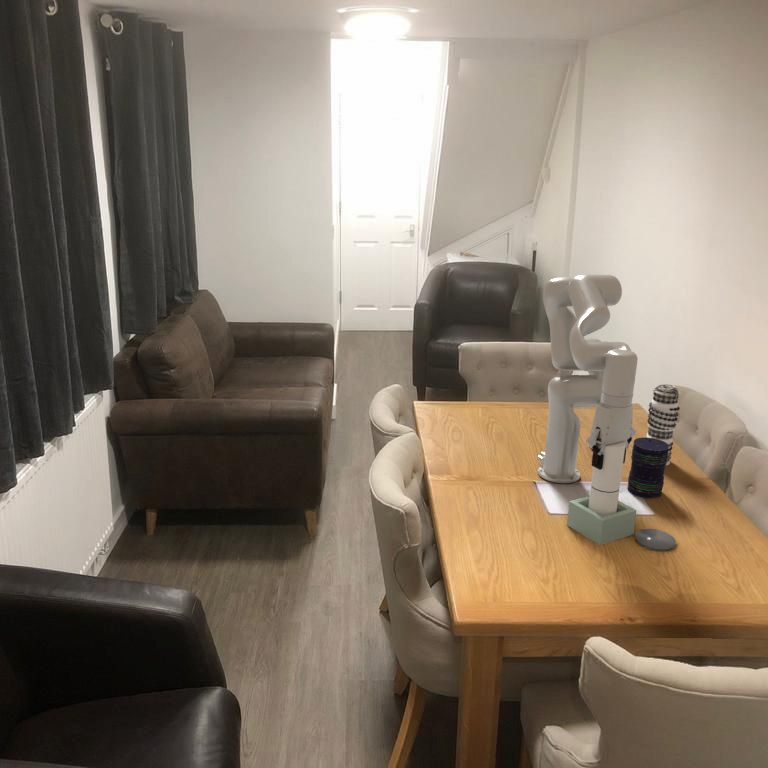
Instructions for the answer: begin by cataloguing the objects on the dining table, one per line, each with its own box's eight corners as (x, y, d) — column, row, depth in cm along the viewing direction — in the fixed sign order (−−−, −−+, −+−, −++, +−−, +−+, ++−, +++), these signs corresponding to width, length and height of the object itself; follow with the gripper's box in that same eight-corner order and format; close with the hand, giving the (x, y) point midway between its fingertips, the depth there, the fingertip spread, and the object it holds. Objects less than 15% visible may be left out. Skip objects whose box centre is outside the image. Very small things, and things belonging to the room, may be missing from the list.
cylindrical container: (594, 537, 202) (605, 448, 194) (580, 524, 208) (591, 437, 200) (619, 534, 204) (631, 446, 196) (604, 522, 210) (615, 435, 202)
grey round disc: (626, 536, 203) (626, 534, 202) (653, 528, 208) (653, 525, 207) (656, 554, 195) (657, 551, 194) (683, 545, 199) (684, 542, 199)
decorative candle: (667, 455, 255) (678, 382, 247) (674, 467, 246) (686, 392, 238) (638, 453, 255) (648, 381, 248) (644, 465, 247) (655, 390, 239)
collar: (566, 525, 208) (569, 501, 206) (599, 515, 214) (602, 492, 212) (599, 545, 198) (602, 520, 196) (633, 534, 204) (636, 510, 202)
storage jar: (664, 500, 224) (671, 452, 219) (628, 496, 225) (635, 448, 221) (659, 485, 233) (666, 439, 228) (625, 482, 235) (631, 435, 230)
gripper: (629, 389, 202) (621, 453, 207) (579, 399, 193) (572, 465, 199) (652, 398, 196) (643, 463, 201) (601, 409, 187) (593, 476, 193)
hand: (608, 464), depth 200 cm, fingers closed on cylindrical container, 7 cm apart
